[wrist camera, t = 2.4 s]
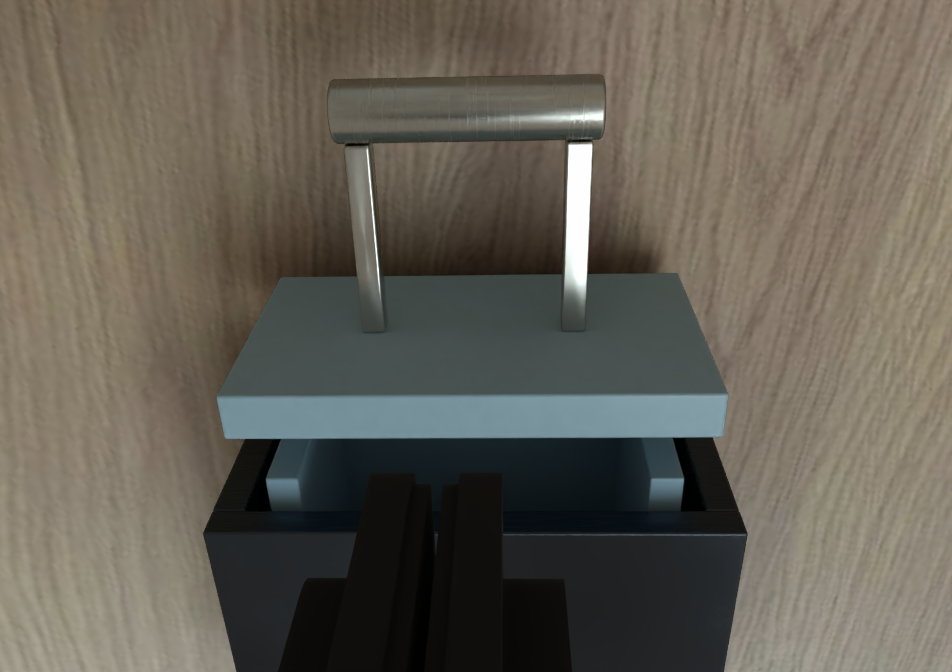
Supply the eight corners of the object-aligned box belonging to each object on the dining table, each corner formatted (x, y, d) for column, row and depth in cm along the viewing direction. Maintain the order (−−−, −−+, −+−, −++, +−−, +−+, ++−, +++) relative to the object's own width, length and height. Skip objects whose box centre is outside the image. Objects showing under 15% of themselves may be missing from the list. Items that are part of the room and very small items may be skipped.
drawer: (245, 53, 21) (156, 120, 16) (700, 44, 21) (771, 109, 15) (331, 610, 31) (293, 771, 26) (644, 611, 31) (674, 776, 25)
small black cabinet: (281, 355, 27) (201, 532, 20) (683, 353, 26) (748, 533, 19) (332, 669, 34) (286, 881, 27) (648, 671, 33) (687, 888, 26)
